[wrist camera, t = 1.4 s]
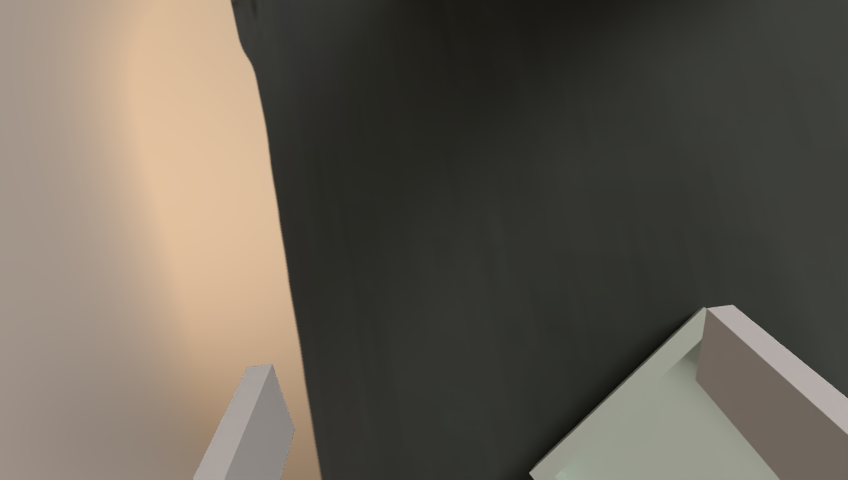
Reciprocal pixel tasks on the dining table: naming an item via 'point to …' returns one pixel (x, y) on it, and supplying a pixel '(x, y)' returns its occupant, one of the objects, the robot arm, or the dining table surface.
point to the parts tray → (657, 426)
